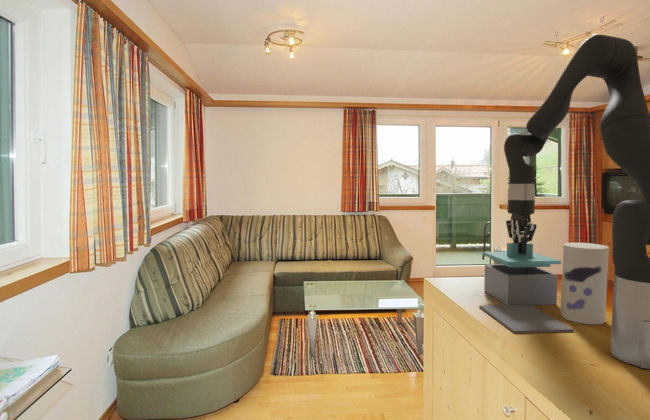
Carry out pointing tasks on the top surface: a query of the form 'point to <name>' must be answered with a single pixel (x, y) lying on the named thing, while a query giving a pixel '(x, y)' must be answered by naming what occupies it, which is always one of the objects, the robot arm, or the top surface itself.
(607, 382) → the top surface
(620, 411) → the top surface
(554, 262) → the lid
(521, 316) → the mat
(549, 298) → the storage box
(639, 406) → the top surface
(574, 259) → the container
